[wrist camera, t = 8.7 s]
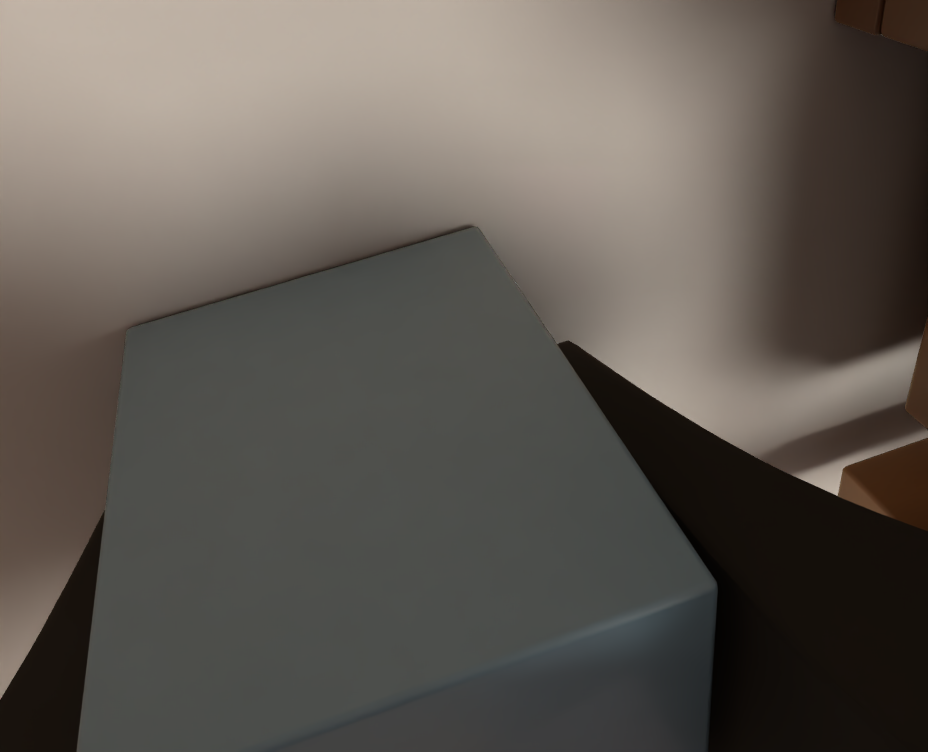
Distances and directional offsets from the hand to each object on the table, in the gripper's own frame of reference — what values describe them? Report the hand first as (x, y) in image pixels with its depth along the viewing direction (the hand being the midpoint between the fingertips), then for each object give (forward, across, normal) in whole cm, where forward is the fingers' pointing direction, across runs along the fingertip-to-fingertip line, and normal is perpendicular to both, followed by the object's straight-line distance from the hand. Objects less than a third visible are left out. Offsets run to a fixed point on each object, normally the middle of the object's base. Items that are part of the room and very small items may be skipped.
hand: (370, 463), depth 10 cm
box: (+1, 0, 0) cm, 1 cm away
